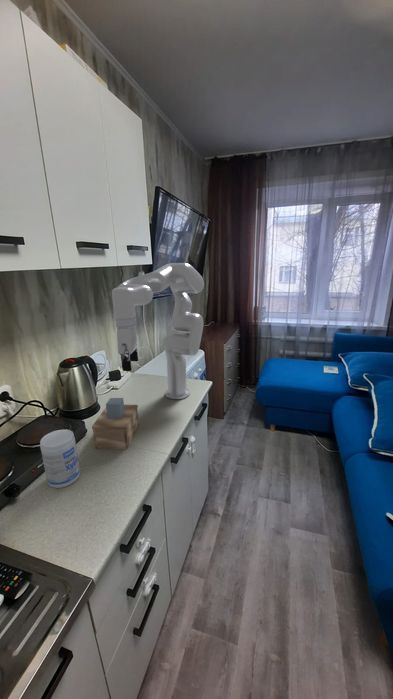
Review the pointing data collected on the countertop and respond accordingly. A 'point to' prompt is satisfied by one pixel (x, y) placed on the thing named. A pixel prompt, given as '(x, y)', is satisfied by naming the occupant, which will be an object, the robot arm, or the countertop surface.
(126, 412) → the lid
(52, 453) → the supplement tub
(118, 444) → the box
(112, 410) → the block
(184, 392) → the robot arm
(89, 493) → the countertop surface
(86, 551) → the countertop surface
